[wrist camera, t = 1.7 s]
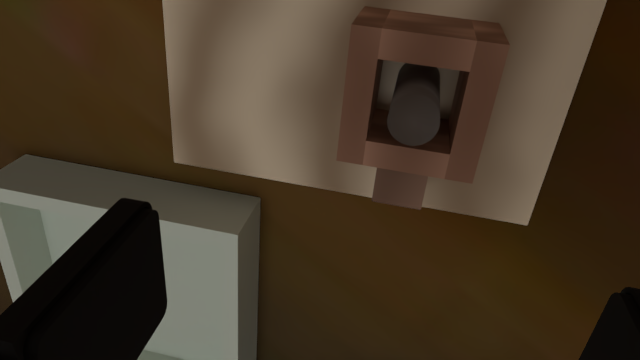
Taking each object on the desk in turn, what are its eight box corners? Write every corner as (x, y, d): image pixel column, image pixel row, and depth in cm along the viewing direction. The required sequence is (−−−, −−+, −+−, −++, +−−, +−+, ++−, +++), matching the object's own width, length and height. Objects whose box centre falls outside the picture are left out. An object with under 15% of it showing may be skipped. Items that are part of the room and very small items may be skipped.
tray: (260, 197, 30) (237, 235, 27) (255, 373, 38) (237, 419, 35) (25, 154, 33) (-24, 183, 29) (67, 329, 41) (33, 368, 37)
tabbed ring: (499, 22, 22) (510, 45, 19) (457, 188, 26) (459, 231, 23) (364, 6, 23) (351, 24, 19) (344, 168, 27) (330, 207, 24)
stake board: (623, -70, 20) (692, -60, 15) (524, 215, 27) (546, 295, 22) (164, -115, 23) (76, -120, 17) (181, 154, 30) (123, 212, 24)
